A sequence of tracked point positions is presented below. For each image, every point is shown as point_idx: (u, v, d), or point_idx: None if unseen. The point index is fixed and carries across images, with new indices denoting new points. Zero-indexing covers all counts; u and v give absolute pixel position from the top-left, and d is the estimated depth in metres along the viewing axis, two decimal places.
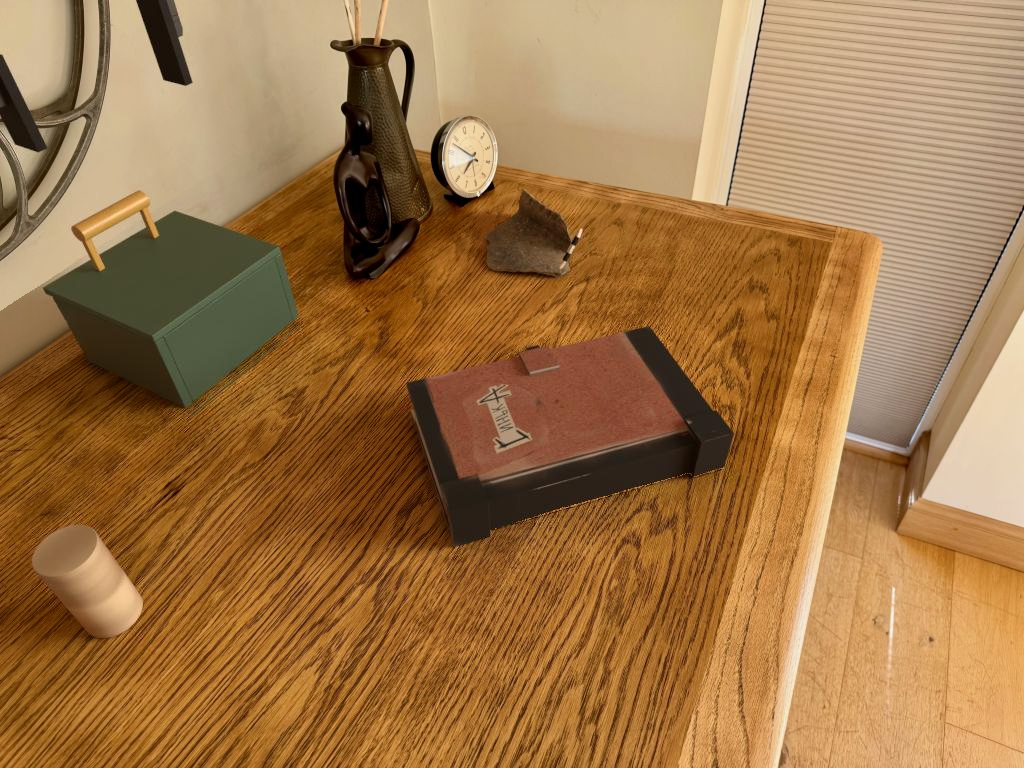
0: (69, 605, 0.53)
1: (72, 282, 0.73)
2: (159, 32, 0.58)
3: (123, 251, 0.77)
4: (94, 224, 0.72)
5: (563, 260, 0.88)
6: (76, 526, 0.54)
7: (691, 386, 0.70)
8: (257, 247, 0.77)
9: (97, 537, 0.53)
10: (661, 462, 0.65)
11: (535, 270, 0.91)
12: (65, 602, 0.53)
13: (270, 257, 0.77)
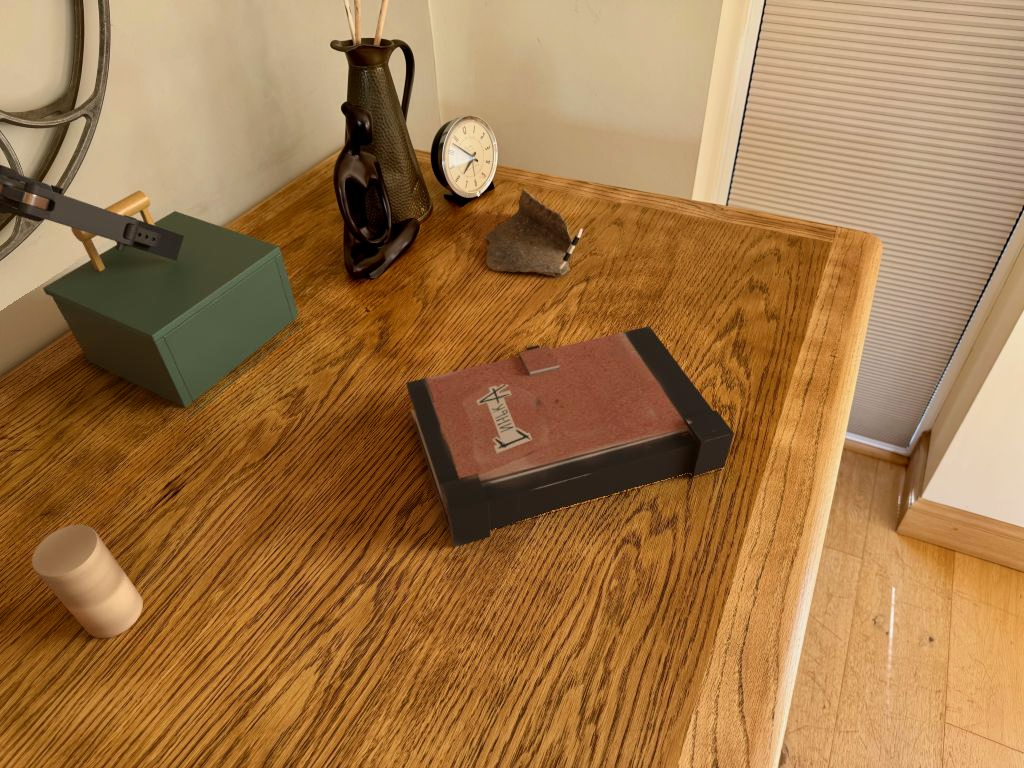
0: (69, 605, 0.53)
1: (72, 282, 0.73)
2: None
3: (123, 251, 0.77)
4: None
5: (563, 260, 0.88)
6: (76, 526, 0.54)
7: (691, 386, 0.70)
8: (257, 247, 0.77)
9: (97, 537, 0.53)
10: (661, 462, 0.65)
11: (535, 270, 0.91)
12: (65, 602, 0.53)
13: (270, 257, 0.77)
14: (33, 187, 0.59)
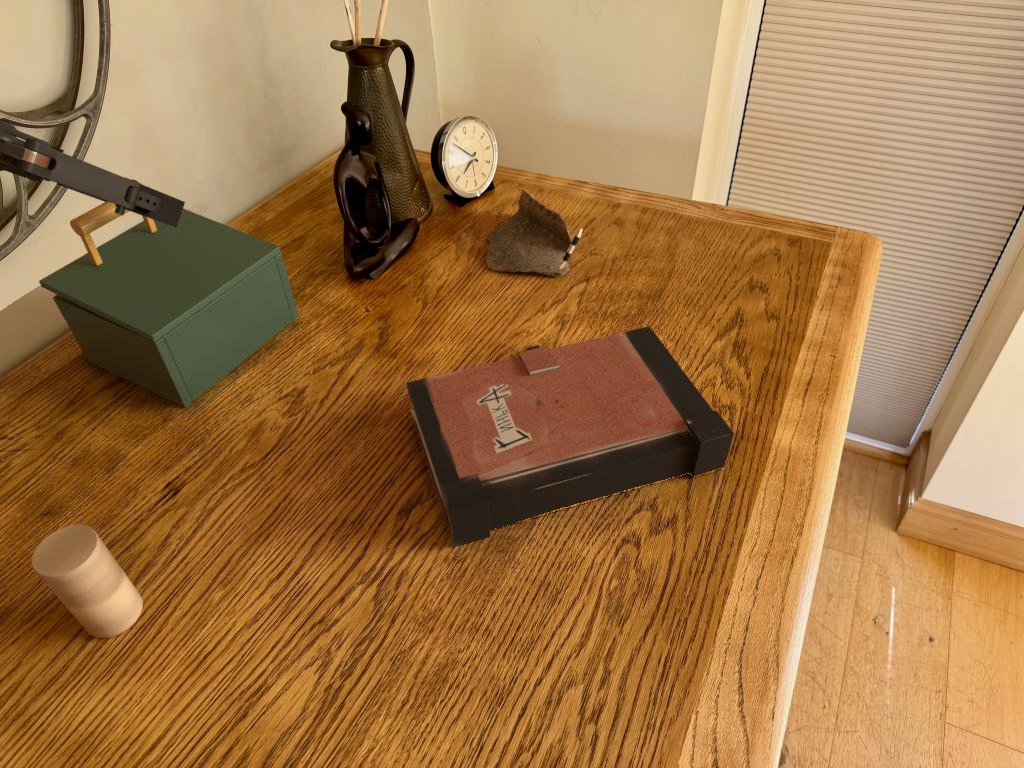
0: (69, 605, 0.53)
1: (69, 276, 0.73)
2: None
3: (121, 245, 0.76)
4: (93, 219, 0.71)
5: (563, 260, 0.88)
6: (76, 526, 0.54)
7: (691, 386, 0.70)
8: (257, 246, 0.77)
9: (97, 537, 0.53)
10: (660, 462, 0.65)
11: (535, 270, 0.91)
12: (65, 602, 0.53)
13: (270, 257, 0.77)
14: (35, 144, 0.56)
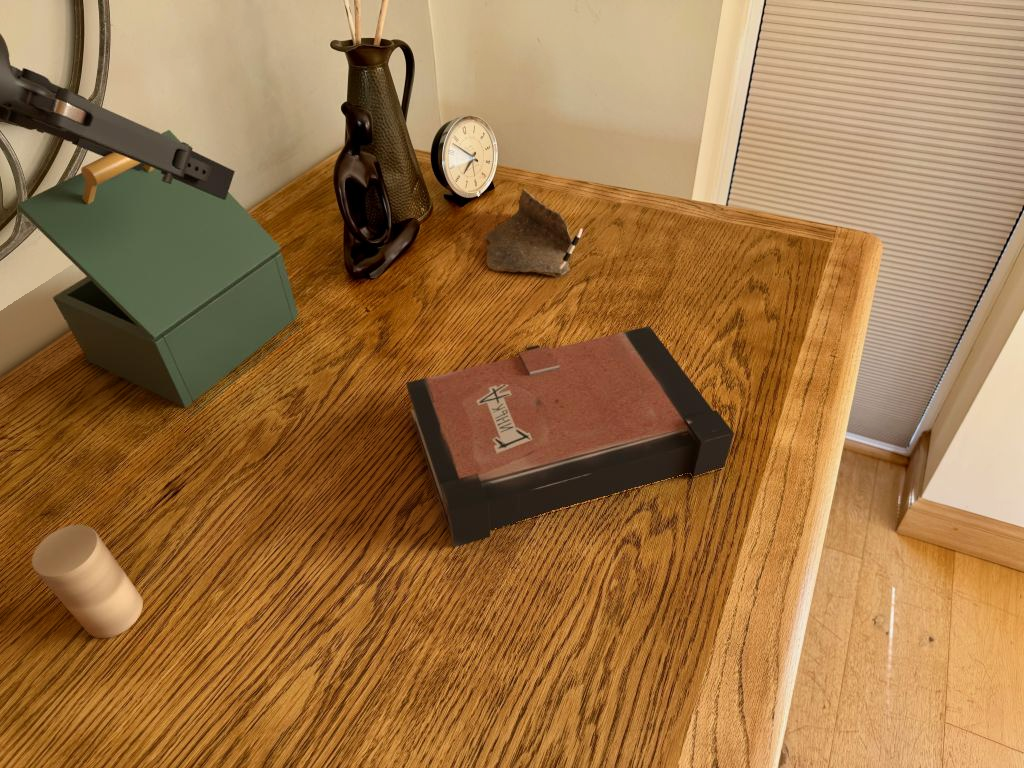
0: (69, 605, 0.53)
1: (55, 209, 0.65)
2: None
3: (113, 179, 0.69)
4: (110, 172, 0.64)
5: (563, 260, 0.88)
6: (76, 526, 0.54)
7: (691, 386, 0.70)
8: (259, 239, 0.76)
9: (97, 537, 0.53)
10: (661, 462, 0.65)
11: (535, 270, 0.91)
12: (65, 602, 0.53)
13: (269, 257, 0.77)
14: (66, 93, 0.49)
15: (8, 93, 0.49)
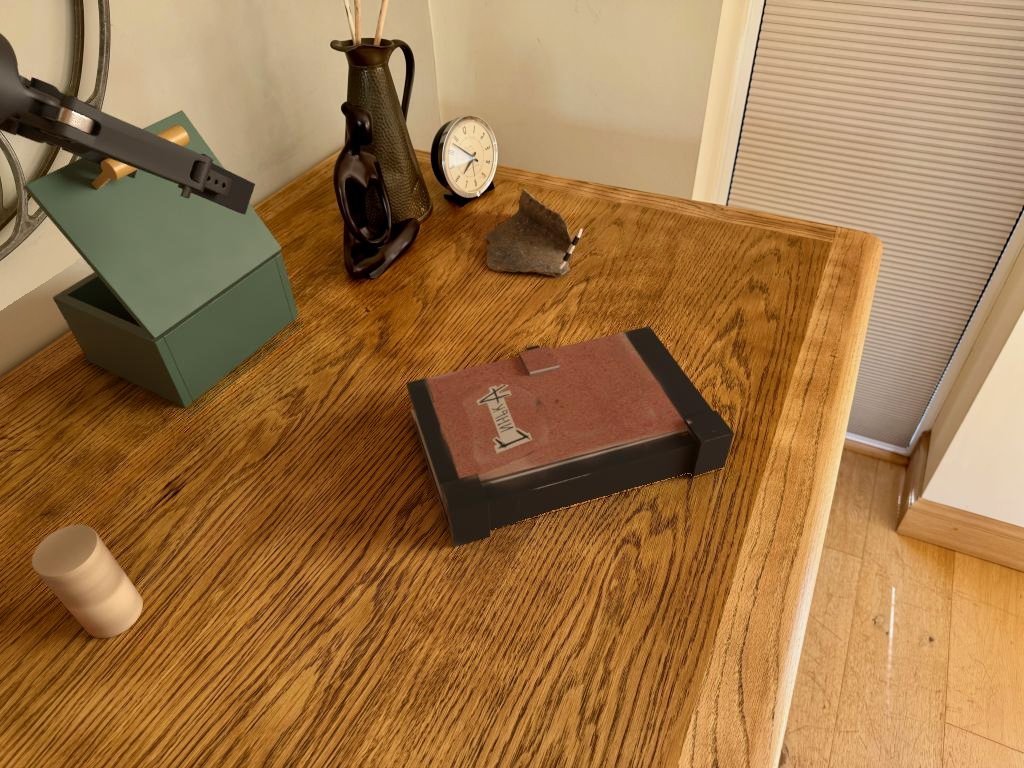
0: (69, 605, 0.53)
1: (63, 193, 0.63)
2: None
3: None
4: (131, 168, 0.62)
5: (563, 260, 0.88)
6: (76, 526, 0.54)
7: (691, 386, 0.70)
8: (262, 238, 0.76)
9: (97, 537, 0.53)
10: (660, 462, 0.65)
11: (535, 270, 0.91)
12: (65, 602, 0.53)
13: (269, 256, 0.77)
14: (70, 100, 0.45)
15: (16, 104, 0.45)
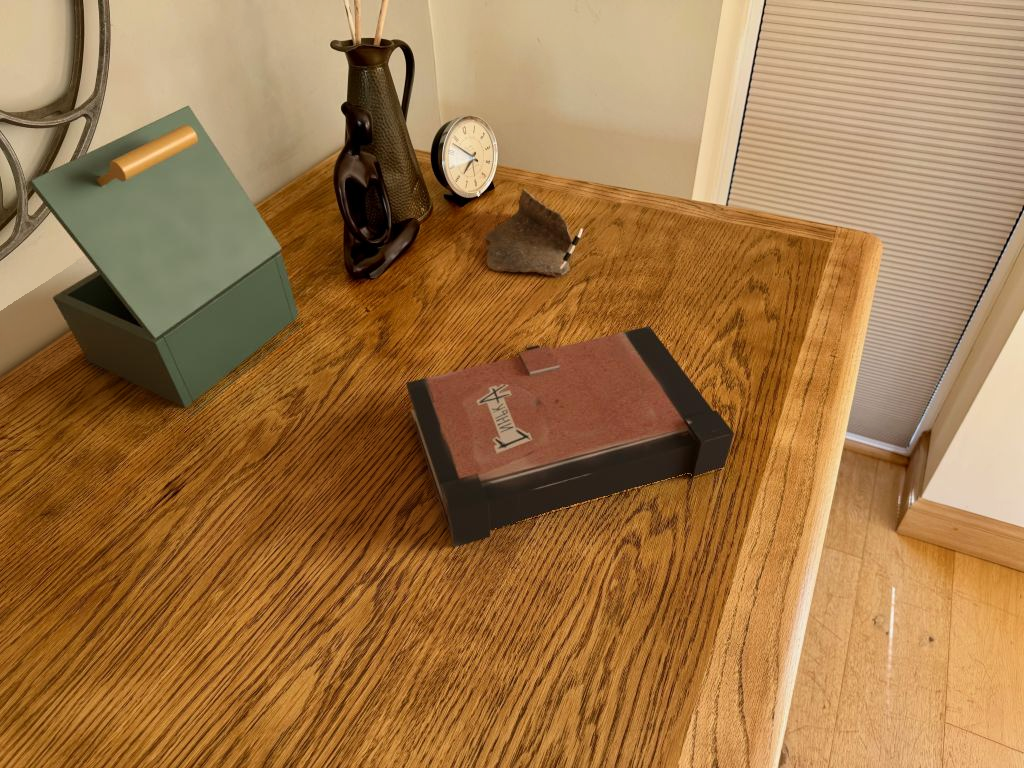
0: None
1: (68, 190, 0.62)
2: None
3: None
4: (140, 170, 0.62)
5: (563, 260, 0.88)
6: None
7: (691, 386, 0.70)
8: (263, 238, 0.76)
9: None
10: (661, 462, 0.65)
11: (535, 270, 0.91)
12: None
13: (269, 256, 0.77)
14: None
15: None
